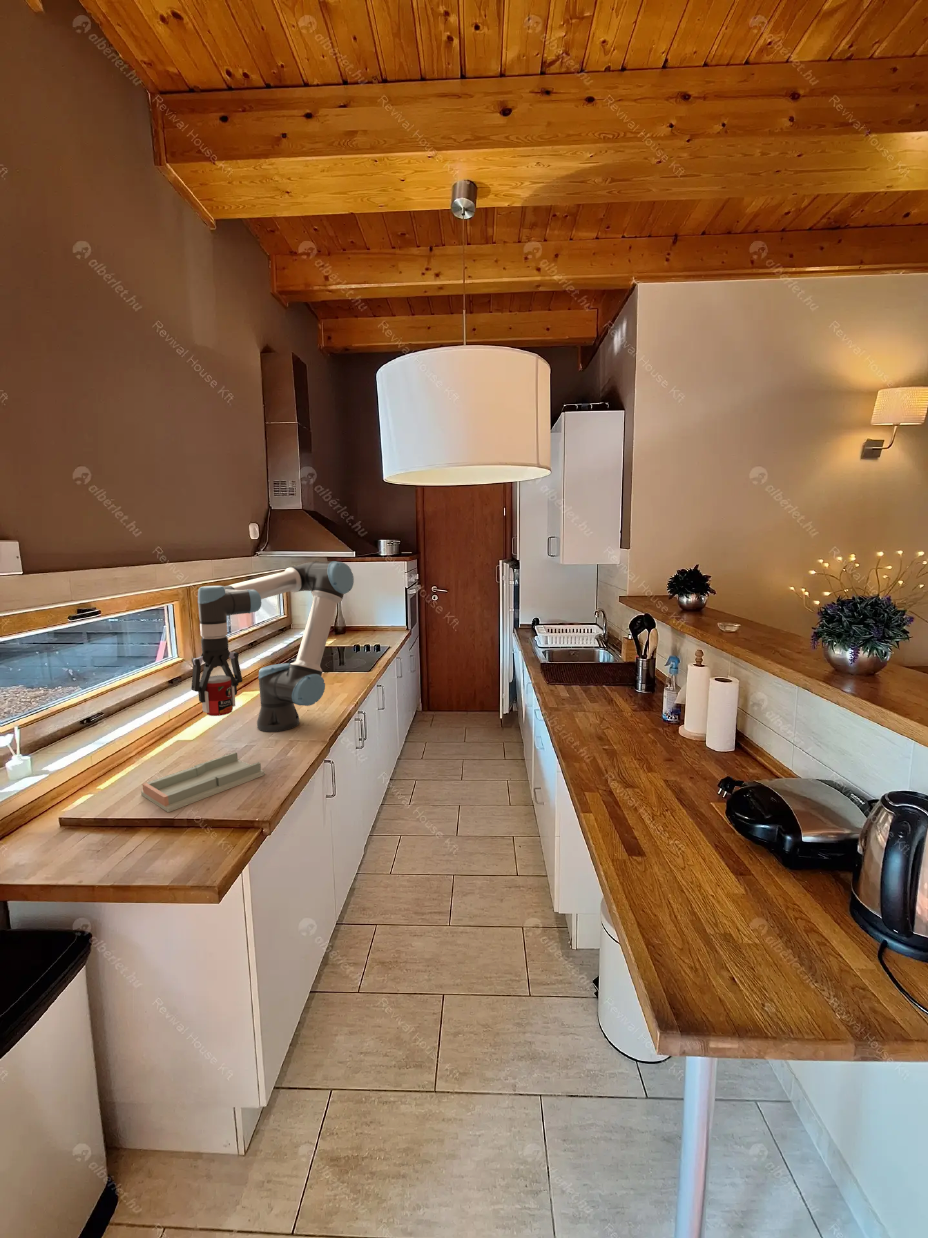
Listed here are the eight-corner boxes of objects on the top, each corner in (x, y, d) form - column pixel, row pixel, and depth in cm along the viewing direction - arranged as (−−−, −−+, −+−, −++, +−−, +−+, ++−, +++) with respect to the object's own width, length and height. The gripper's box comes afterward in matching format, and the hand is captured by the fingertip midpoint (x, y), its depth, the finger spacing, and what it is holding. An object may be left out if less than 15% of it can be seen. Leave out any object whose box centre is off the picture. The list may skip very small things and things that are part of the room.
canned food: (222, 717, 167) (220, 681, 166) (200, 715, 169) (197, 680, 167) (238, 709, 175) (236, 675, 173) (216, 708, 176) (214, 674, 175)
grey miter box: (236, 761, 174) (235, 750, 174) (264, 774, 165) (263, 763, 164) (141, 795, 153) (140, 782, 152) (168, 812, 143) (166, 799, 142)
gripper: (239, 631, 179) (244, 699, 182) (174, 639, 163) (180, 714, 166) (252, 633, 174) (256, 703, 177) (185, 642, 158) (191, 719, 161)
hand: (219, 708), depth 172 cm, fingers closed on canned food, 8 cm apart
